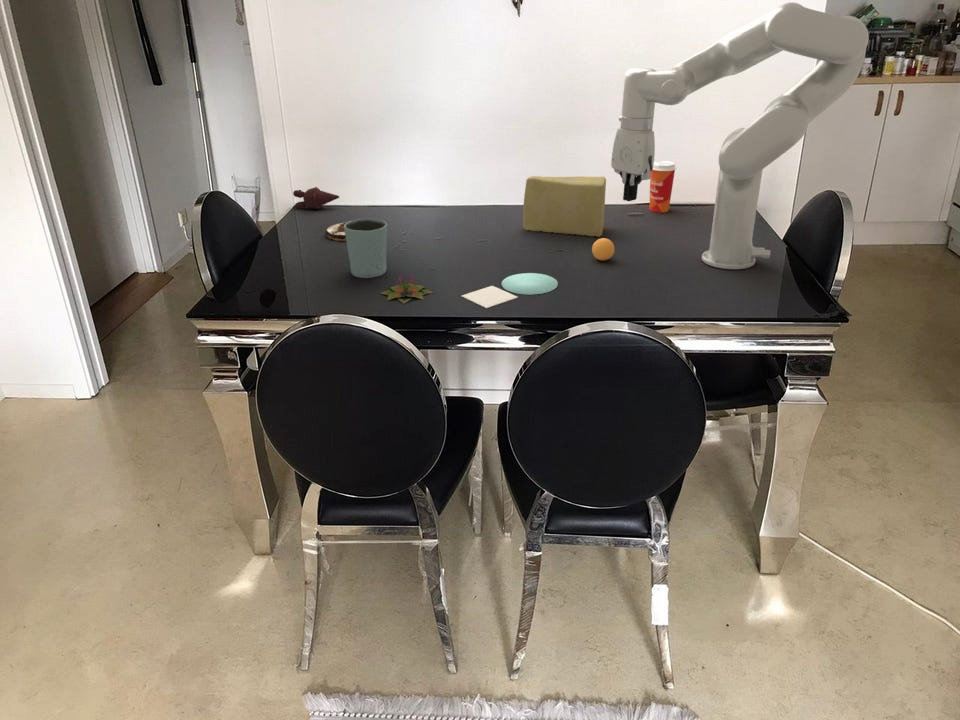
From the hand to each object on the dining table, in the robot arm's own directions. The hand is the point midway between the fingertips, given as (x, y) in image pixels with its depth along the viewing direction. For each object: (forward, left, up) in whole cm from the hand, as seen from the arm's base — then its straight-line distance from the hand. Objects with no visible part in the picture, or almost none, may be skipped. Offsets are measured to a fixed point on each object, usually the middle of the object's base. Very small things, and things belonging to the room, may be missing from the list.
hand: (629, 199), depth 185 cm
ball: (+5, +8, -11) cm, 14 cm away
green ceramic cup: (+59, +29, -14) cm, 67 cm away
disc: (+19, +28, -14) cm, 36 cm away
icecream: (+98, -19, -14) cm, 101 cm away
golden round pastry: (+77, +3, -14) cm, 78 cm away
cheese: (+19, -13, -14) cm, 27 cm away
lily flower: (+45, +40, -14) cm, 62 cm away
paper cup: (-5, -39, -14) cm, 42 cm away
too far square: (+26, +38, -14) cm, 48 cm away
